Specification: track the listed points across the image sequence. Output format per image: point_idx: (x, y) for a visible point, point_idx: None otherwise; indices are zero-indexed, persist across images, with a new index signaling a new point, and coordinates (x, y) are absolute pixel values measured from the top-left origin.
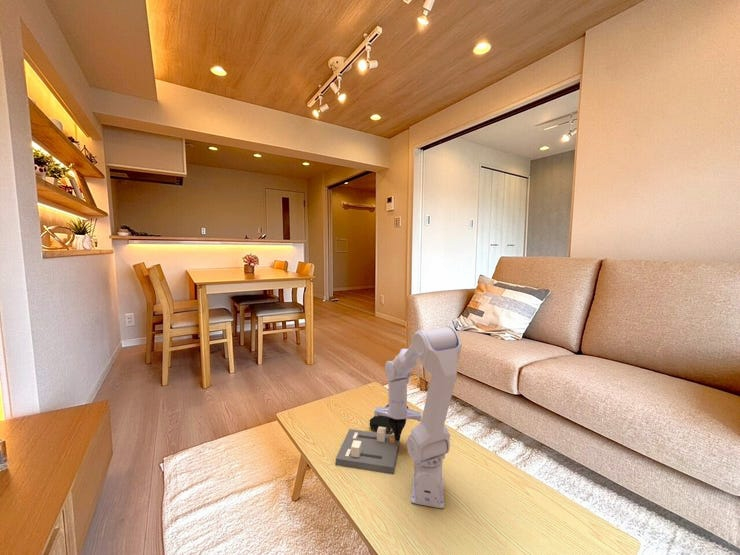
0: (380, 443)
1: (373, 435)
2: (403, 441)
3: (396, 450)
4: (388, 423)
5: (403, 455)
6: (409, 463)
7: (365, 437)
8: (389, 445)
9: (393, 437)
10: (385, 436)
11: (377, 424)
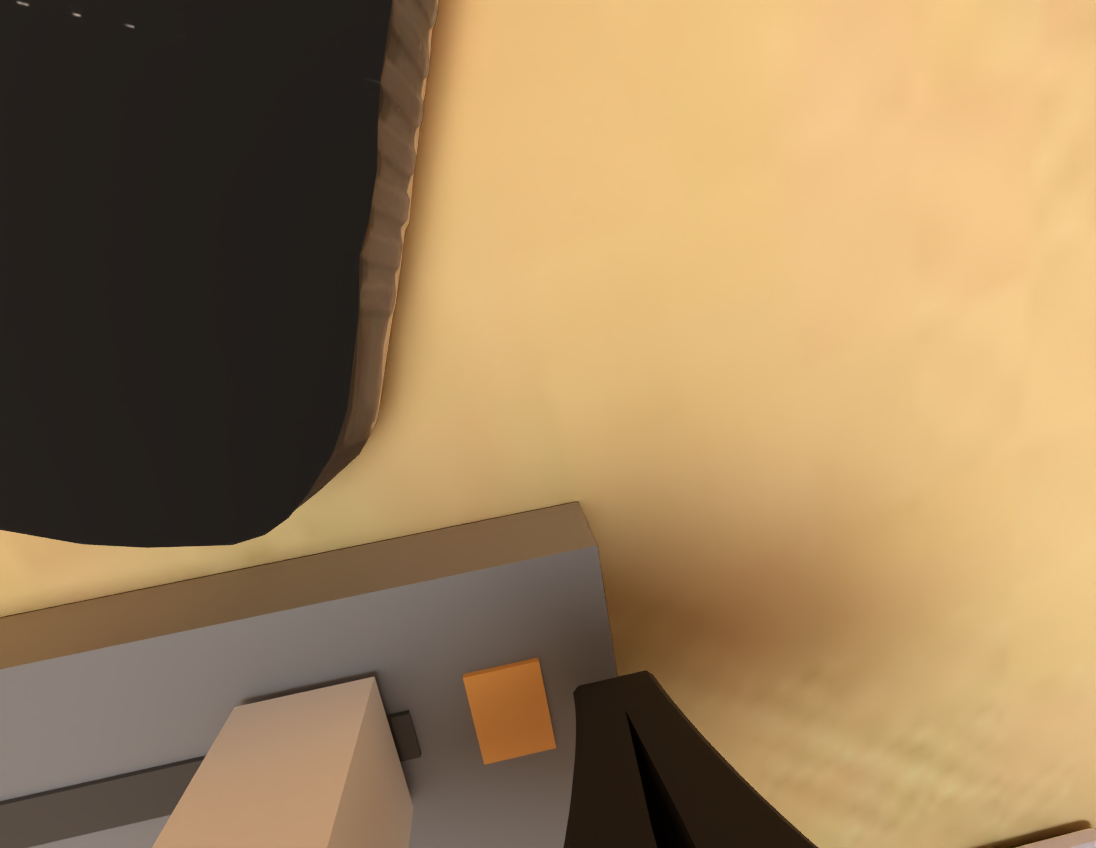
0: None
1: (144, 732)
2: (631, 482)
3: None
4: (259, 405)
5: (691, 715)
6: (777, 787)
7: (40, 833)
8: (512, 811)
9: (509, 635)
10: (382, 746)
11: (13, 519)
